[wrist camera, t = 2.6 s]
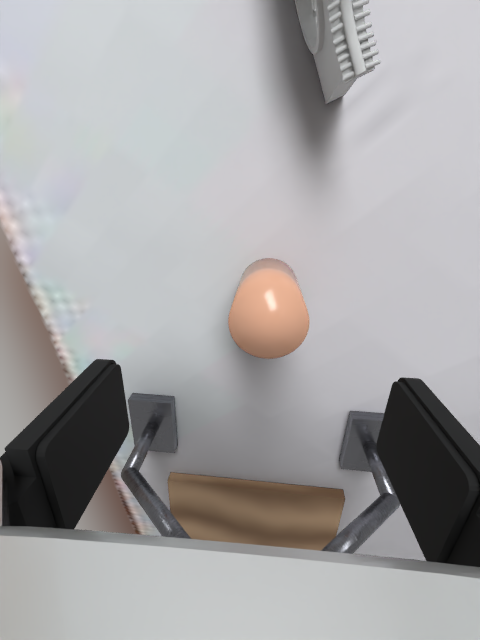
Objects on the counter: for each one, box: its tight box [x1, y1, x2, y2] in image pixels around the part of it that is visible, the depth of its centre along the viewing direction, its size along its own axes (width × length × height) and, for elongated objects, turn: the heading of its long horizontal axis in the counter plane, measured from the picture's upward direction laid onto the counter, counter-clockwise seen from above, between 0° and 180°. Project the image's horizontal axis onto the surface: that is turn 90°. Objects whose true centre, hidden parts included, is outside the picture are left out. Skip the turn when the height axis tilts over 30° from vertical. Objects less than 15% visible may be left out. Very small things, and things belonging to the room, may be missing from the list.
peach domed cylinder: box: [228, 258, 309, 359], centre depth 19 cm, size 4×4×7 cm
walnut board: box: [168, 472, 345, 551], centre depth 33 cm, size 12×18×1 cm, turn 88°
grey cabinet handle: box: [121, 393, 400, 554], centre depth 23 cm, size 6×24×12 cm, turn 88°
